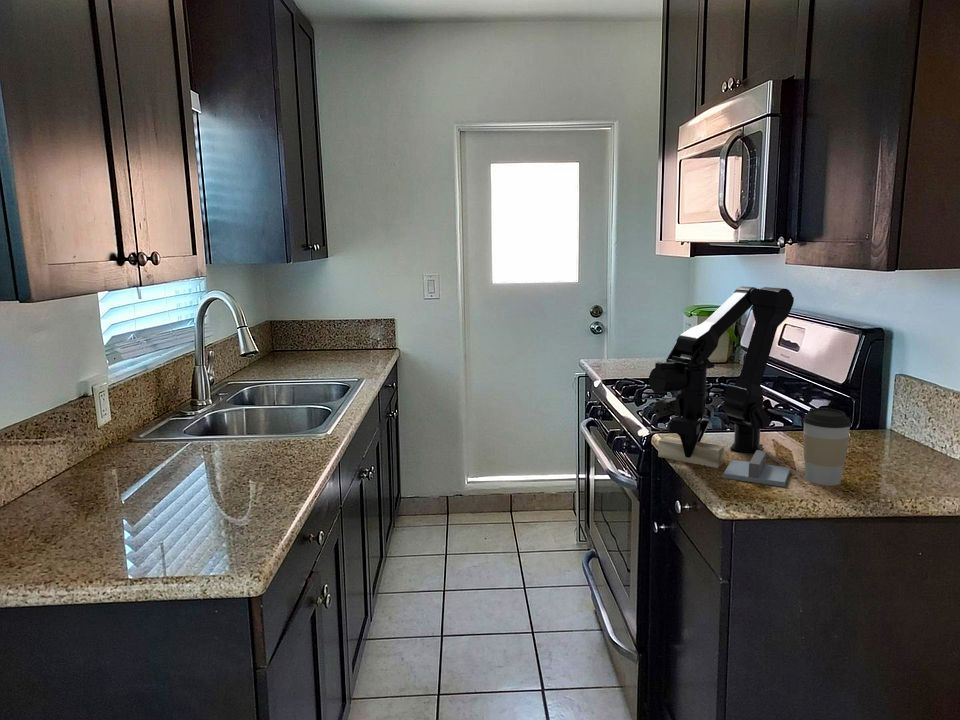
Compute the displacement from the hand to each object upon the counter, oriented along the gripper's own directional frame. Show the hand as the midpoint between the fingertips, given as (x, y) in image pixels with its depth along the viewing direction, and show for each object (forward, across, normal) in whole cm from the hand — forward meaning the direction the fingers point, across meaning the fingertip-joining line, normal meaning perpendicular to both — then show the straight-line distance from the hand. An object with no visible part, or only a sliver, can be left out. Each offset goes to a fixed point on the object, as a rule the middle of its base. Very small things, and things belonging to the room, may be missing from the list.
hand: (690, 454), depth 157 cm
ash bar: (+1, 0, 0) cm, 1 cm away
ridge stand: (+1, +4, +15) cm, 16 cm away
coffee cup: (+1, +1, +28) cm, 28 cm away
